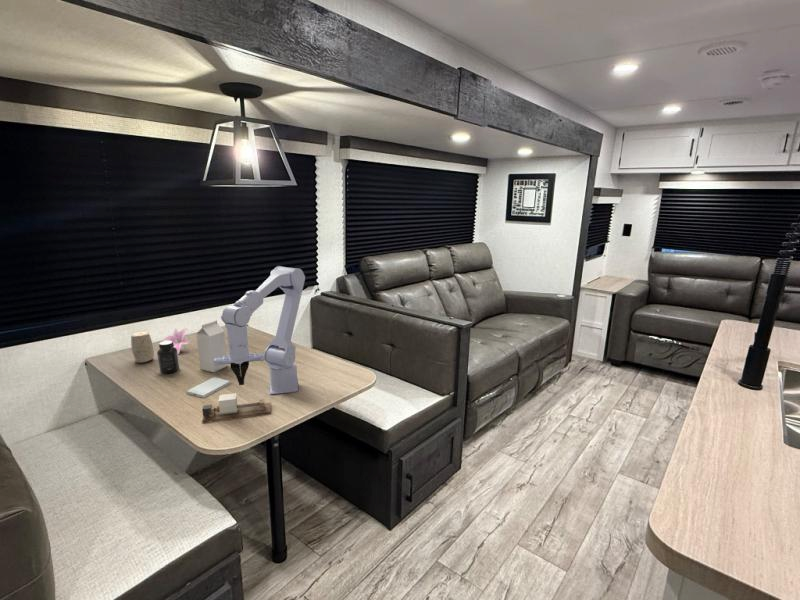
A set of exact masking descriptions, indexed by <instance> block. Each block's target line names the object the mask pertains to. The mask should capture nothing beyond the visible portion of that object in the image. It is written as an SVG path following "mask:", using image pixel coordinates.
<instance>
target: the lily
mask: <svg viewBox="0 0 800 600" xmlns="http://www.w3.org/2000/svg"><path fill="white" fill-rule="evenodd" d="M187 330H188V327H185V328H184V329H183V328H182V330H179V331H178V330H177V328H174V329H173V334H172V335H169V336H166V337H163V338H162V341H168V340H170V341H173V344H174V347H175V348H176V349H177V352H178V354H179V355H180V351H181V347H182V346H185V345H187V344H189V343H190V341H189V340H187V339H186V338H185V335H186V332H187Z"/></svg>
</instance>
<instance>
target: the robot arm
mask: <svg viewBox="0 0 800 600" xmlns="http://www.w3.org/2000/svg"><path fill="white" fill-rule="evenodd" d="M305 281H306V275H305V274H304V271H303V270H302V269H301V268H300V267H299V268H295V267H294V268H293V267H286V266H281V265H277V266H276V267H274V269H272V270H271V271H270V275H269V276H268V278H266V280H264V281H263V282H262V284H260V285H259V286H258V288H256V289H255V290H254V289H253V290H247V291H246V292H245V293H244V295H243V296H242V297H240V299H238V300H236V301H235V303H234V304H233V305H232V304H231V305H228V306H226V307H225V308H224V309H223V310H222V313H221V316H220V319H221V321H222V322H223V323H224V327H225V328H226V333H227V346H228V355H226V356H224V357H219V358H214V366H218V365H223V364H227V365H230V369H231V371H232V373H233V374H234V375H235V377H236V379H237V382H238V385H239V386H244V385H245V377H246V375H247V371H248V368H249V366H250V362H252V363H253V362H259V361H260V362H266V363H267V366H268V367H269V377H270V384H269V395H277V394H278V395H279V394H285V393H286V394H287V393H296V392H298V391H299V389H298V388H299V386H298V384H299V378H298V368H297V364H296V363H295V361H296V349H297V347H296V345H295V344H294V343H293V342H292V336H293V332H294V328H295V323H296V320H297V315H298V310H299V307H300V304H301V303H300V302H301V299H302V294H303V293H302V292H303V289H304V285H305ZM277 288H280V289H281V290H282V291H283V293H284V294H285V295H284V296H285V297H284V300H283V305H282V309H281V313H280V317H279V322H278V326H277V330H276V334H275V337H274V338H273V339H272V340H269V342H268V345H267V347H266V348H265V350H264V353H250V350H249V341H248V327H247V324H249V323H250V320H251V317H252V316H253V314H254V313H255V312H256V310H258V309H259V308H260V307H261V306H262V305H263V304H264V299H265V298H266V297H267V296H268V295H271V293H272V292H274V291H275V290H276V289H277Z"/></svg>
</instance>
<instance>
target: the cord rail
mask: <svg viewBox="0 0 800 600" xmlns="http://www.w3.org/2000/svg"><path fill="white" fill-rule="evenodd" d="M237 408H238V410H237V413H230V414H223V415H220V410H219V405H216V407H215V405H213V404H205V405H203V406H202V418H201V419H202V420H201V423H202V422H204V423H211V422H210V421H212V422H218V421H225V420H231V419H233V420H234V419H239V418H241V419H242V418H249V417H256V416H262V415H269V414H270V415H271V413H272V412H271V408H272V407H271V402H265V399H259V402H251V403H250V402H249V403H243V404H237Z"/></svg>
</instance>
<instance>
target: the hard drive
mask: <svg viewBox="0 0 800 600" xmlns="http://www.w3.org/2000/svg"><path fill="white" fill-rule="evenodd" d="M228 384H229V385H230V384H231V380H228V379H223V378H219V377H216V376H214V377H211V378H209V379H207V380H205V381H203V382H202V383H200V384H198V385H195V386H194V387H191V388H190V389H188V390H186V391H185V394H186V393H187V395H190V394H191V395H190V396H194V395H195V396H194V397H198V398H202V399H205V398H206V397H208V396H210V395H212V394H214V393H216V392H218V391H219V390H221V389H223V388H225V387H226V386H229V385H228ZM217 390H218V391H217ZM215 391H216V392H215Z"/></svg>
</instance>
